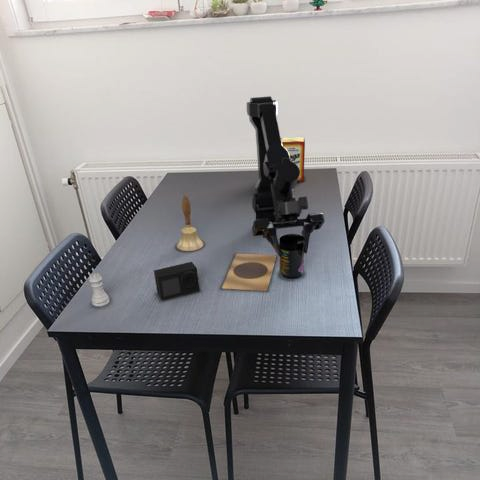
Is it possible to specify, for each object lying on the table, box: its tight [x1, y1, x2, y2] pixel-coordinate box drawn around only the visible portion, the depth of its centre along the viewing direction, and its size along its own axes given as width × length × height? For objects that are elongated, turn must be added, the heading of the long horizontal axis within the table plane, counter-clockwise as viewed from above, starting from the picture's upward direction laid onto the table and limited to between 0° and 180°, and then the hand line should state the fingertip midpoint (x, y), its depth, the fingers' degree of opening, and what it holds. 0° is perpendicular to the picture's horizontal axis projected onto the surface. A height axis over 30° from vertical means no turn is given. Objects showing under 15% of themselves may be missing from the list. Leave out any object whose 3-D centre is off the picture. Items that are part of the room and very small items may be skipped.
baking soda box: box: [281, 137, 306, 182], centre depth 195 cm, size 10×6×16 cm
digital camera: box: [153, 261, 200, 301], centre depth 124 cm, size 10×5×7 cm, turn 113°
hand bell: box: [176, 195, 204, 252], centre depth 145 cm, size 8×8×16 cm
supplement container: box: [278, 233, 305, 280], centre depth 129 cm, size 7×7×10 cm
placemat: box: [221, 253, 277, 292], centre depth 134 cm, size 20×12×1 cm, turn 170°
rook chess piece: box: [88, 272, 111, 308], centre depth 121 cm, size 4×4×8 cm
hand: (293, 254), depth 127 cm, fingers closed on supplement container, 7 cm apart
